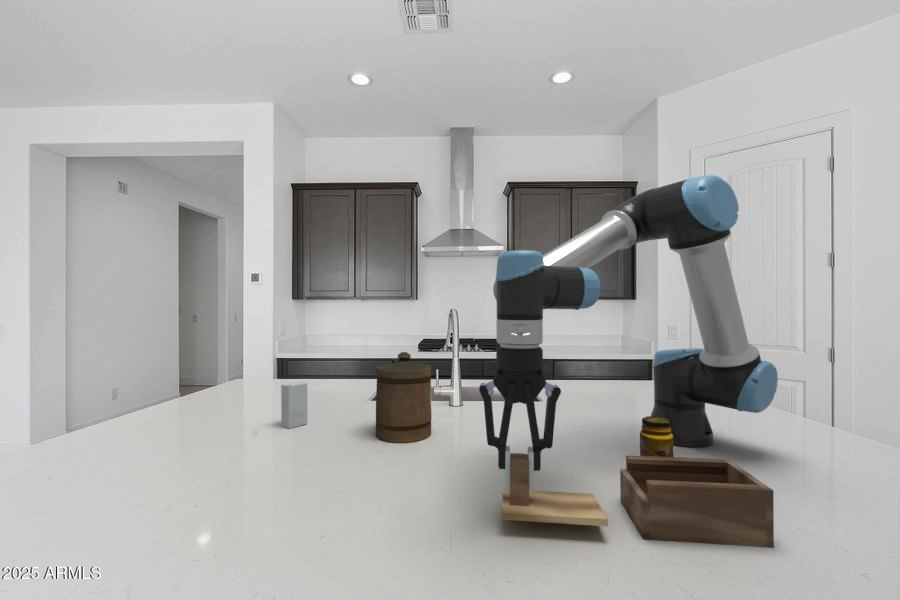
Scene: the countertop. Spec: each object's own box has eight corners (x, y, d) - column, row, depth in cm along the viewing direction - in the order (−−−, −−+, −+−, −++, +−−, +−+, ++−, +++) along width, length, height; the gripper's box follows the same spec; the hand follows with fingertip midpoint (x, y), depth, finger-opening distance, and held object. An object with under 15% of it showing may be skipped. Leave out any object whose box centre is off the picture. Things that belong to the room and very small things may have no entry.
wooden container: (441, 431, 116) (441, 351, 116) (408, 447, 103) (408, 357, 103) (399, 423, 123) (399, 348, 124) (363, 436, 111) (363, 353, 111)
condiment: (679, 488, 80) (678, 425, 80) (630, 483, 83) (630, 421, 83) (671, 473, 87) (671, 415, 87) (626, 469, 89) (626, 412, 90)
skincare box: (299, 421, 125) (299, 380, 125) (308, 424, 122) (308, 382, 122) (280, 426, 120) (280, 384, 120) (288, 429, 117) (288, 386, 117)
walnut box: (620, 501, 75) (620, 455, 75) (728, 506, 73) (728, 459, 73) (643, 539, 63) (642, 484, 63) (773, 547, 61) (773, 490, 61)
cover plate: (502, 494, 74) (502, 448, 75) (592, 499, 72) (592, 451, 73) (502, 519, 64) (502, 465, 65) (607, 526, 62) (606, 470, 63)
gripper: (468, 347, 66) (468, 496, 66) (573, 348, 64) (573, 502, 64) (471, 342, 74) (471, 476, 74) (566, 344, 72) (565, 481, 72)
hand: (519, 488), depth 69 cm, fingers closed on cover plate, 3 cm apart
